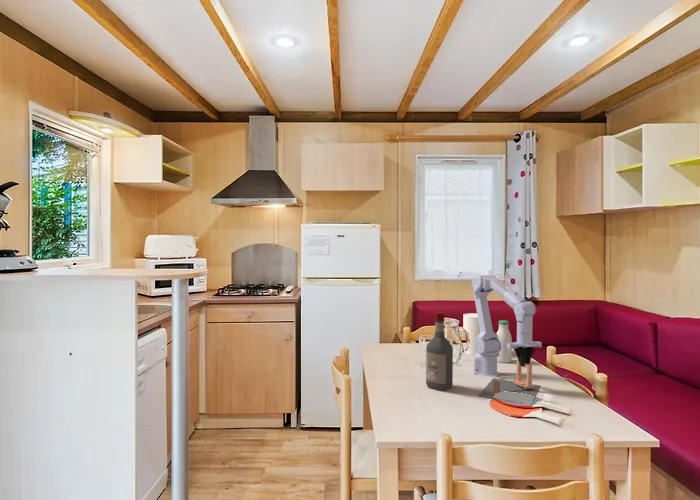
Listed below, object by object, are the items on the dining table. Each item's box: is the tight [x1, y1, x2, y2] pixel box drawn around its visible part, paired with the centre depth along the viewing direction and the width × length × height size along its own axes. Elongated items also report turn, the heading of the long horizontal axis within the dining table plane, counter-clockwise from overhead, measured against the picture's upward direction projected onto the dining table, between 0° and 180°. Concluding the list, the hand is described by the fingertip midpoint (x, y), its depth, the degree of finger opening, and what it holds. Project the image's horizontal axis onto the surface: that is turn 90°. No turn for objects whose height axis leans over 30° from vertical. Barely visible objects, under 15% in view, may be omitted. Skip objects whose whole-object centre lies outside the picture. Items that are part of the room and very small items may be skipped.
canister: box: [462, 312, 489, 357], centre depth 233 cm, size 14×14×20 cm
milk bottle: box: [496, 319, 513, 364], centre depth 216 cm, size 8×8×20 cm
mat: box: [477, 377, 542, 400], centre depth 172 cm, size 19×25×1 cm
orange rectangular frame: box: [513, 360, 536, 389], centre depth 176 cm, size 4×8×9 cm, turn 14°
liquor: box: [425, 311, 454, 391], centre depth 177 cm, size 9×9×30 cm
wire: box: [493, 374, 520, 396], centre depth 170 cm, size 7×16×6 cm, turn 149°
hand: (524, 365), depth 176 cm, fingers closed on orange rectangular frame, 2 cm apart
